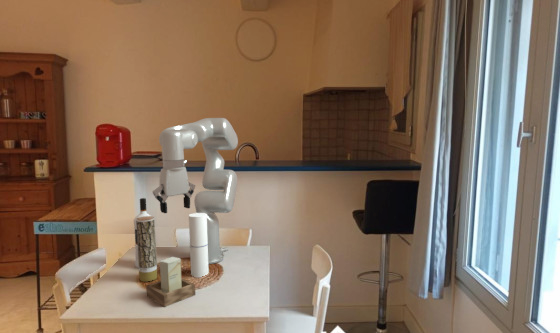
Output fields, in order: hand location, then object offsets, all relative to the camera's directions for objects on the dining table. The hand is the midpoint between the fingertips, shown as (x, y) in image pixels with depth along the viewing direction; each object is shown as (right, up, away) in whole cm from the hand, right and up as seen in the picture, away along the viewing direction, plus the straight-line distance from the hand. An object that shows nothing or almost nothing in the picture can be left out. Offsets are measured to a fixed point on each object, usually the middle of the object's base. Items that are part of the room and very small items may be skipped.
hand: (175, 210), depth 147 cm
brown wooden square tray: (-1, -31, -3) cm, 31 cm away
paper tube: (-14, -29, +12) cm, 34 cm away
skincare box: (-1, -30, -3) cm, 30 cm away
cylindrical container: (+6, -28, +16) cm, 33 cm away
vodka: (-20, -28, +27) cm, 43 cm away
